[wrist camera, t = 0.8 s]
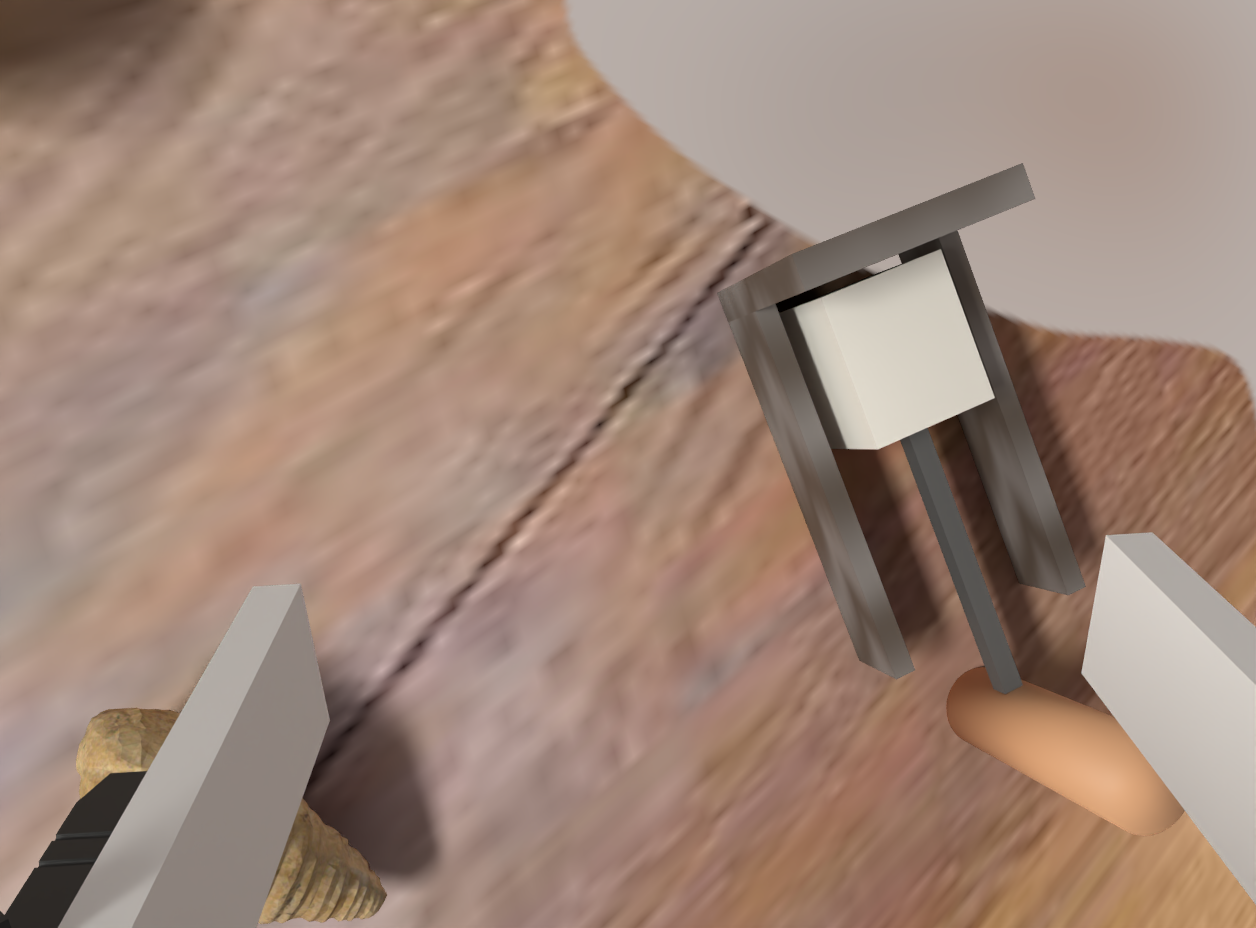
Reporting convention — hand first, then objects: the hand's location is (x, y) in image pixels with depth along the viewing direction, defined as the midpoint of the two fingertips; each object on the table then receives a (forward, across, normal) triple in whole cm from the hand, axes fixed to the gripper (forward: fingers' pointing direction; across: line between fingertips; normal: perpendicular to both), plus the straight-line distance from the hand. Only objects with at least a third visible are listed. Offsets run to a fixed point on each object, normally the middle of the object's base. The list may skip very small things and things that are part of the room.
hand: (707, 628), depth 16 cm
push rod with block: (+30, -14, +15) cm, 36 cm away
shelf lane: (+31, -12, +11) cm, 35 cm away
